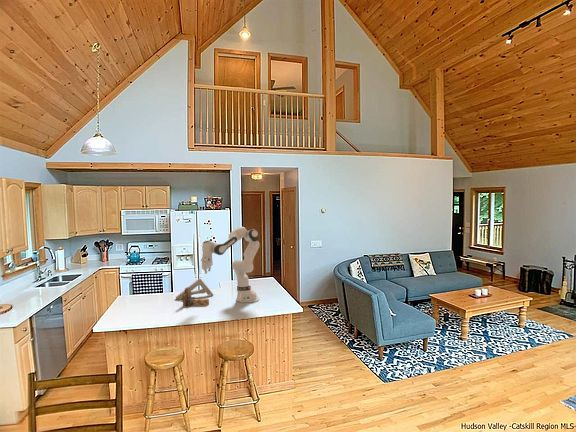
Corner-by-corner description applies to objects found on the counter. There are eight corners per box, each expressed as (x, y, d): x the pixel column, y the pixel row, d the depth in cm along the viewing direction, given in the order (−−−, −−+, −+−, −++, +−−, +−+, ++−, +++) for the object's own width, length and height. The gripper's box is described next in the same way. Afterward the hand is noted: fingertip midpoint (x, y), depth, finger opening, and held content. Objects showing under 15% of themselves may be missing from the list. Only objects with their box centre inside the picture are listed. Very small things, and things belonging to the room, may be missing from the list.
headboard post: (196, 301, 323) (195, 285, 322) (190, 307, 307) (189, 290, 306) (189, 301, 323) (189, 285, 323) (183, 307, 307) (182, 290, 307)
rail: (208, 304, 315) (208, 297, 315) (207, 305, 312) (207, 298, 312) (191, 304, 317) (191, 297, 316) (190, 305, 313) (190, 298, 313)
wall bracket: (189, 312, 339) (213, 293, 347) (189, 314, 335) (213, 294, 342) (175, 297, 334) (199, 277, 341) (175, 298, 330) (200, 278, 337)
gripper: (207, 256, 322) (208, 270, 323) (200, 259, 302) (200, 274, 302) (213, 256, 321) (214, 270, 322) (207, 259, 301) (207, 274, 302)
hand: (207, 272), depth 312 cm, fingers open, 8 cm apart
